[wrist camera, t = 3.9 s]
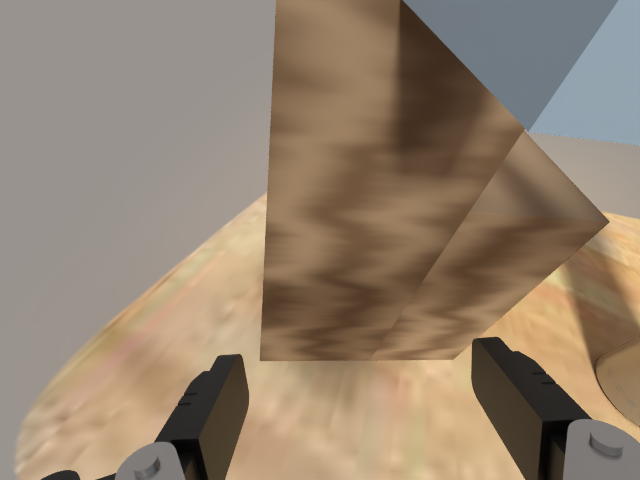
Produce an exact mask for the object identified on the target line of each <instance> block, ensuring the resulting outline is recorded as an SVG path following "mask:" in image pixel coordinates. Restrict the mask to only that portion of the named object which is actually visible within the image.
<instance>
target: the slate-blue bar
mask: <svg viewBox="0 0 640 480" xmlns="http://www.w3.org/2000/svg"><path fill="white" fill-rule="evenodd" d="M403 1H404V2H405V3H406V4H407V5H408V6H409V7H410V8H411V9H412V10H413V11H414V12H415V14H416V15H417V16H418V17H419V18H420V19H421V20H422V21H423V22H424V23H425V24H426V25H427V26H428V27H429V28H430V29H431V30H432V31H433V32H434V33H435V35H436V36H437V37H438V38H439V39H440V40H441V41H442V42H443V43H444V44H445V45H446V46H447V47H448V48H449V49H450V50H451V51H452V52H453V53H454V54H455V55H456V57H457V58H458V59H459V60H460V61H461V62H462V63H463V64H464V65H465V66H466V67H467V68H468V69H469V70H470V71H471V72H472V73H473V74H474V75H475V76H476V77H477V79H478V80H479V81H480V82H481V83H482V84H483V85H484V86H485V87H486V88H487V89H488V90H489V91H490V92H491V93H492V94H493V95H494V96H495V97H496V98H497V100H498V101H499V102H500V103H501V104H502V105H503V106H504V107H505V108H506V109H507V110H508V111H509V112H510V113H511V114H512V115H513V116H514V117H515V118H516V119H517V120H518V122H519V123H520V124H521V125H522V126H523V127H524V128H525V129H526V130H527V131H528V132H533V133H541V134H549V135H558V136H566V137H575V138H583V139H591V140H599V141H608V142H616V143H625V144H633V145H640V0H403Z"/></svg>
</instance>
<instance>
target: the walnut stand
mask: <svg viewBox="0 0 640 480" xmlns="http://www.w3.org/2000/svg"><path fill="white" fill-rule="evenodd" d="M524 129H525V128H524V127H523V126H522V125H521V124H520V123H519V122H518V120H517V119H516V118H515V117H514V116H513V115H512V114H511V113H510V112H509V111H508V110H507V109H506V108H505V107H504V106H503V105H502V104H501V103H500V102H499V101H498V100H497V98H496V97H495V96H494V95H493V94H492V93H491V92H490V91H489V90H488V89H487V88H486V87H485V86H484V85H483V84H482V83H481V82H480V81H479V80H478V79H477V77H476V76H475V75H474V74H473V73H472V72H471V71H470V70H469V69H468V68H467V67H466V66H465V65H464V64H463V63H462V62H461V61H460V60H459V59H458V58H457V57H456V55H455V54H454V53H453V52H452V51H451V50H450V49H449V48H448V47H447V46H446V45H445V44H444V43H443V42H442V41H441V40H440V39H439V38H438V37H437V36H436V35H435V33H434V32H433V31H432V30H431V29H430V28H429V27H428V26H427V25H426V24H425V23H424V22H423V21H422V20H421V19H420V18H419V17H418V16H417V15H416V14H415V12H414V11H413V10H412V9H411V8H410V7H409V6H408V5H407V4H406V3H405V2H404V1H403V0H276V16H275V39H274V60H273V82H272V105H271V126H270V149H269V170H268V192H267V214H266V236H265V258H264V280H263V302H262V324H261V346H260V361H319V360H453V359H454V358H455V357H457V356H458V355H459V354H460V353H461V352H462V351H463V350H465V349H466V348H467V347H468V346H469V345H470V344H471V343H472V342H473V339H475V338H478V337H479V336H480V335H482V334H483V333H484V332H485V331H486V330H487V329H488V328H490V327H491V326H492V325H493V324H494V323H495V322H496V321H498V320H499V319H500V318H501V317H502V316H503V315H504V314H506V313H507V312H508V311H509V310H510V309H511V308H512V307H514V306H515V305H516V304H517V303H518V302H519V301H520V300H521V299H523V298H524V297H525V296H526V295H527V294H528V293H529V292H531V291H532V290H533V289H534V288H535V287H536V286H537V285H539V284H540V283H541V282H542V281H543V280H544V279H545V278H547V277H548V276H549V275H550V274H551V273H552V272H553V271H555V270H556V269H557V268H558V267H559V266H560V265H561V264H562V263H564V262H565V261H566V260H567V259H568V258H569V257H570V256H572V255H573V254H574V253H575V252H576V251H577V250H578V249H580V248H581V247H582V246H583V245H584V244H585V243H586V242H588V241H589V240H590V239H591V238H592V237H593V236H594V235H596V234H597V233H598V232H599V231H600V230H601V229H602V228H604V227H605V226H606V225H607V224H608V223H609V220H608V219H607V218H606V217H605V216H604V215H603V214H602V213H601V212H600V211H599V210H598V209H597V208H596V207H595V206H594V205H593V204H592V203H591V201H590V200H589V199H588V198H587V197H586V196H585V195H584V194H583V193H582V192H581V191H580V190H579V189H578V188H577V186H576V185H575V184H574V183H573V182H572V181H571V180H570V179H569V178H568V177H567V176H566V175H565V174H564V173H563V172H562V171H561V170H560V168H559V167H558V166H557V165H556V164H555V163H554V162H553V161H552V160H551V159H550V158H549V157H548V156H547V155H546V154H545V152H544V151H543V150H542V149H541V148H540V147H539V146H538V145H537V144H536V143H535V142H534V141H533V140H532V139H531V138H530V137H529V135H528V134H526V132H525V131H524Z"/></svg>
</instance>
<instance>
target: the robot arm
mask: <svg viewBox="0 0 640 480" xmlns="http://www.w3.org/2000/svg"><path fill="white" fill-rule="evenodd" d="M596 374H597V378H598V381H599V383H600V385H601V387H602V389H603V391H604V393H605V394H606V396H607V397H608V398H609V400H610V401H611V402H612V404H613V405H614V406H615V407H616V408H617V409H618V410H619V411H620V412H621V413H622V414H623V415H624V416H625V417H626V418H628V419H629V420H630V421H632V422H633V423H634V424H636V425H637V426H639V427H640V336H639V337H637V338H635V339H633V340H631V341H629V342H627V343H625V344H623V345H621V346H619V347H618V348H616V349H614V350H612V351H610V352H608V353H606V354H604V355H602V356H601V357H600V358H599V359H598V361H597V363H596ZM471 379H472V386H473V390H474V393H475V395H476V397H477V399H478V401H479V403H480V404H481V406H482V408H483V409H484V411H485V413H486V414H487V416H488V418H489V419H490V421H491V423H492V424H493V426H494V428H495V429H496V431H497V433H498V434H499V436H500V438H501V440H502V441H503V443H504V445H505V446H506V448H507V450H508V451H509V453H510V455H511V456H512V458H513V460H514V461H515V463H516V465H517V466H518V468H519V470H520V471H521V473H522V475H523V476H524V478H525V480H640V443H639V442H638V441H637V440H635V439H634V438H633V437H632V436H630V435H629V434H627V433H626V432H624V431H623V430H621V429H619V428H617V427H615V426H613V425H610V424H608V423H605V422H601V421H597V420H593V419H592V418H591V417H590V416H589V415H588V414H587V413H586V412H585V411H584V410H583V409H582V408H581V407H580V406H579V405H578V404H577V403H576V402H575V401H574V400H573V399H572V398H571V397H570V396H569V395H568V394H567V393H566V392H565V391H564V390H563V389H562V388H561V387H560V386H559V385H558V384H556V383H555V381H554V380H553V379H552V378H551V377H550V376H549V375H548V374H546V372H545V371H544V370H543V369H542V368H541V367H540V366H539V365H538V364H537V363H536V362H535V361H534V360H533V359H531V358H529V357H528V356H526V355H524V354H522V353H521V352H519V351H514V352H512V351H511V350H510V349H509V348H508V346H507V345H506V344H505V343H504V342H503V341H502V340H501V339H500V338H499V337H488V338H475V339H473V342H472V371H471ZM248 406H249V390H248V384H247V379H246V374H245V368H244V363H243V358H242V356H241V354H233V355H220V356H218V357H217V359H216V360H215V362H214V364H213V366H212V368H211V369H210V371H203V372H202V373H201V374H200V375H199V376H197V377H196V378H195V379H194V380H193V381H192V382H191V383H190V385H189V386H188V388H187V390H186V391H185V393H184V396H182V398H181V399H180V401H179V403H178V406H176V407H175V409H174V411H173V412H172V414H171V416H170V417H169V419H168V420H167V422H166V424H165V425H164V427H163V429H162V430H161V432H160V433H159V435H158V437H157V438H156V440H155V441H154V443H152V444H149V445H146V446H144V447H142V448H140V449H139V450H137V451H136V452H134V453H133V454H132V455H130V456H129V457H128V458H127V459H126V460H125V461H124V462H123V464H122V465H121V466H120V468H119V469H118V471H117V473H115V474H112V475H109V476H106V477H103V478H100V479H97V480H225V478H226V475H227V471H228V468H229V465H230V462H231V459H232V456H233V453H234V450H235V447H236V444H237V441H238V438H239V435H240V432H241V429H242V426H243V423H244V420H245V417H246V414H247V410H248ZM41 480H80V477H79V475H78V473H77V472H75V471H71V470H65V471H60V472H56V473H53V474H51V475H49V476H47V477H45V478H43V479H41Z"/></svg>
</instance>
